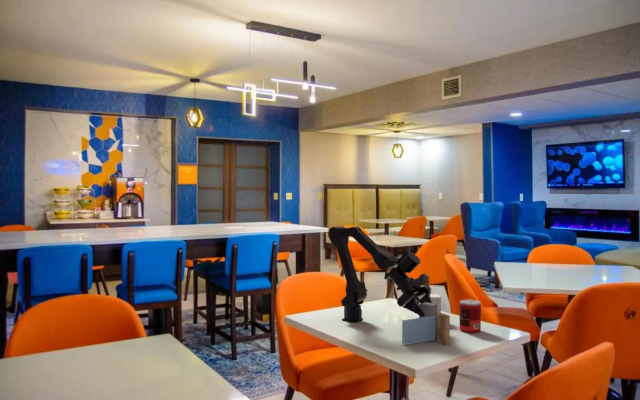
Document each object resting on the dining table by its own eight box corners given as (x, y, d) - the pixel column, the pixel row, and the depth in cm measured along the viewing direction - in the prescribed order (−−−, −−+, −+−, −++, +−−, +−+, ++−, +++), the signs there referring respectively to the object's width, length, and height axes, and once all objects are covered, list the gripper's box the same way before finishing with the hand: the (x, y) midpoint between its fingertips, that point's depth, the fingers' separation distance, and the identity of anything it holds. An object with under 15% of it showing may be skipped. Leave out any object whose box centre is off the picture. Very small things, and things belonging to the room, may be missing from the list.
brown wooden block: (437, 341, 173) (437, 313, 173) (440, 341, 174) (440, 312, 173) (446, 345, 169) (446, 316, 168) (449, 344, 169) (449, 315, 169)
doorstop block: (418, 334, 182) (418, 304, 182) (424, 331, 186) (424, 302, 186) (431, 336, 179) (431, 306, 179) (437, 333, 183) (437, 303, 183)
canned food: (481, 329, 189) (482, 300, 189) (479, 334, 182) (479, 304, 182) (461, 326, 193) (461, 298, 193) (457, 332, 185) (458, 302, 185)
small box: (439, 319, 204) (439, 294, 204) (441, 323, 198) (441, 297, 198) (419, 319, 205) (419, 293, 205) (420, 322, 199) (421, 296, 199)
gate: (436, 339, 176) (436, 315, 175) (439, 340, 174) (439, 316, 174) (401, 344, 169) (402, 320, 169) (404, 345, 168) (404, 321, 168)
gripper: (404, 270, 178) (433, 304, 171) (426, 264, 193) (453, 296, 186) (385, 289, 183) (412, 323, 176) (408, 282, 198) (434, 314, 191)
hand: (429, 313), depth 182 cm, fingers open, 9 cm apart
